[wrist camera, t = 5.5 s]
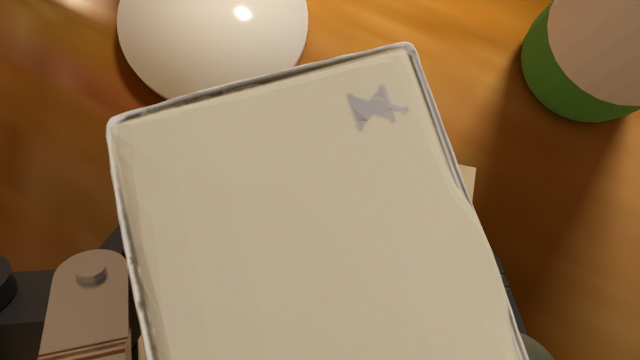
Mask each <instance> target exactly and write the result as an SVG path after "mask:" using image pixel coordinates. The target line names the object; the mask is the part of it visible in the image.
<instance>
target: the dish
mask: <svg viewBox="0 0 640 360" xmlns="http://www.w3.org/2000/svg"><path fill="white" fill-rule="evenodd" d="M117 32H118V38H119V43H120V45H121V48H122V51H123V54H124V55H125V57H126V59H127V61H128V63H129V64H130V66H131V67H132V69H133V70H134V71H135V73H136V74H137V75H138V76H139V77H140V78H141V80H142V81H143V82H144V83H145V84H146V85H147V86H148V87H149V88H150V89H151V90H153V91H154V92H155V93H156V94H158V95H159V96H161V97H162V98H164V99H166V100H169V99H172V98H174V97H178V96H182V95H186V94H189V93H192V92H196V91H200V90H204V89H208V88H212V87H215V86H219V85H223V84H227V83H231V82H235V81H238V80H242V79H246V78H251V77H255V76H260V75H264V74H267V73H272V72H277V71H280V70H284V69H288V68H292V67H296V66H298V64H299V62H300V60H301V58H302V56H303V53H304V50H305V47H306V42H307V35H308V10H307V3H306V0H120V4H119V7H118V14H117Z"/></svg>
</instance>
